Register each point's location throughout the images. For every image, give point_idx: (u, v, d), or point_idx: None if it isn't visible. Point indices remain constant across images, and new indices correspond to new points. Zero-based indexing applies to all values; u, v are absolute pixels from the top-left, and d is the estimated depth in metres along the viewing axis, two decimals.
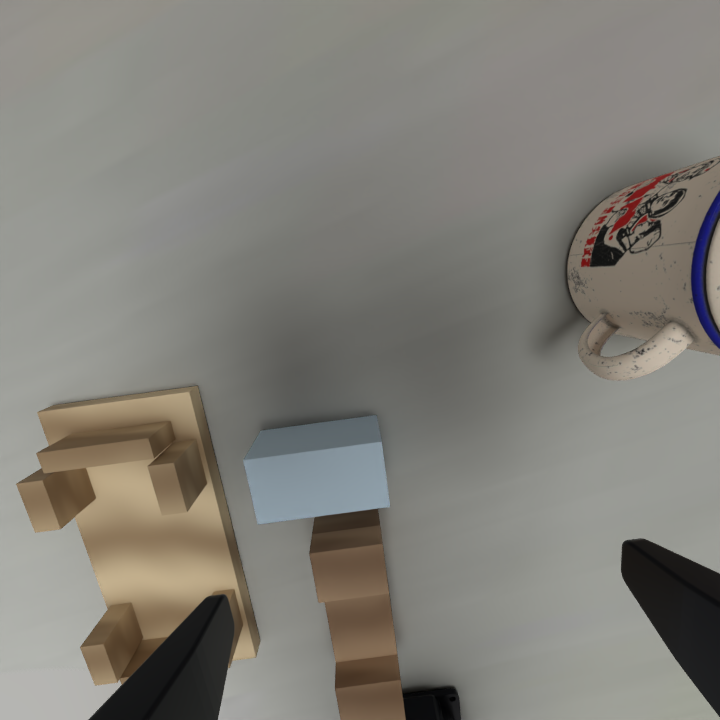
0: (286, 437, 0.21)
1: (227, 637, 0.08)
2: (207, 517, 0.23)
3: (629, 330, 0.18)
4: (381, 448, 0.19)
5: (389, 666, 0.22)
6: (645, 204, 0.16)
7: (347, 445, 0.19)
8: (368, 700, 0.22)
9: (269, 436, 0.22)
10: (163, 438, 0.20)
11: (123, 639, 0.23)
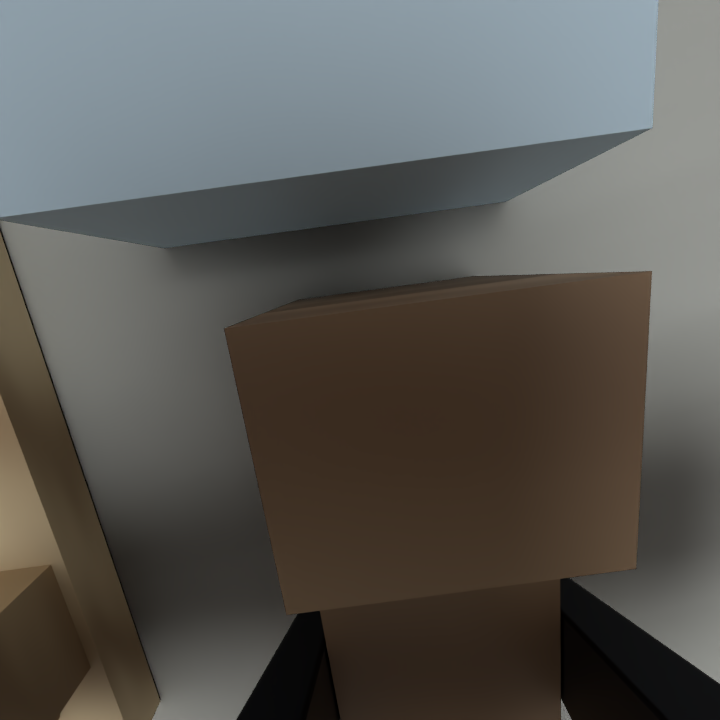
0: None
1: None
2: None
3: None
4: None
5: None
6: None
7: None
8: None
9: None
10: None
11: None
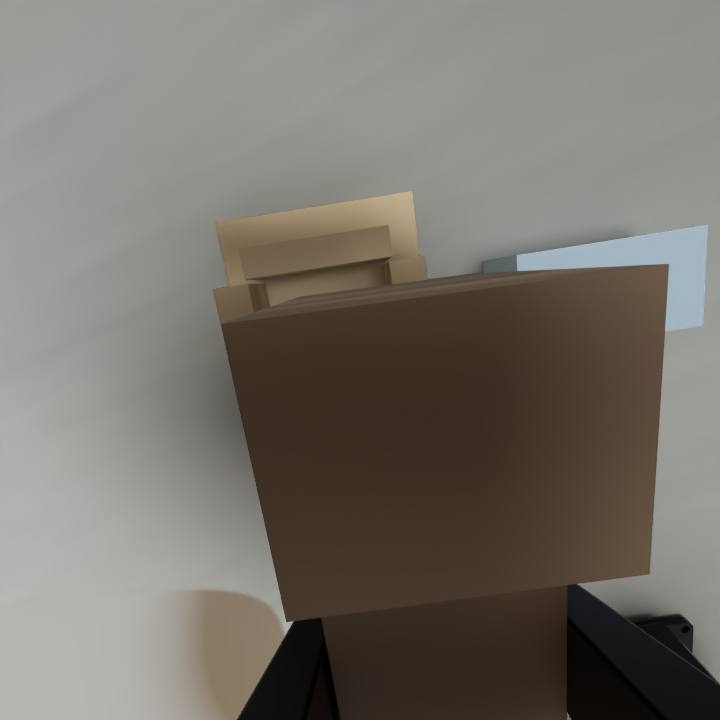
0: None
1: None
2: None
3: None
4: (705, 236, 0.14)
5: None
6: None
7: None
8: None
9: None
10: None
11: None
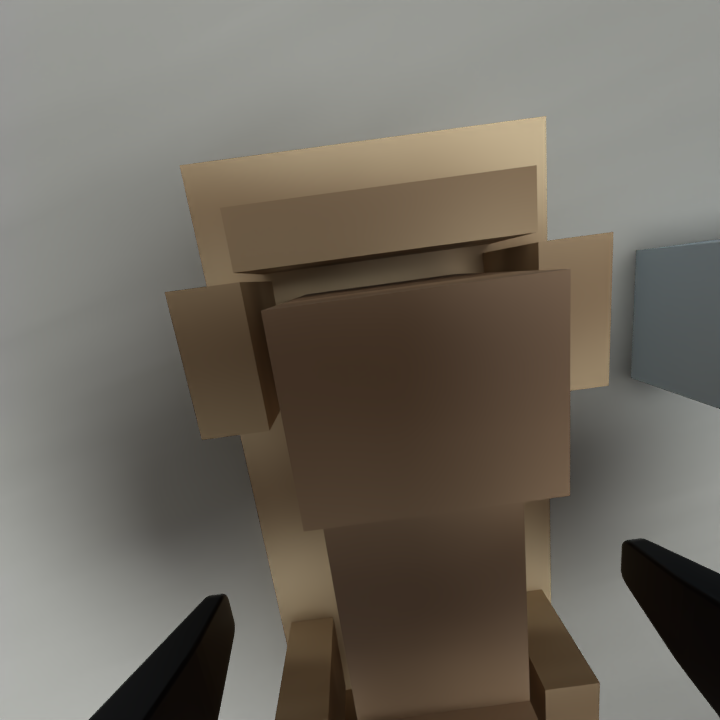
0: None
1: (227, 637, 0.08)
2: None
3: None
4: None
5: None
6: None
7: None
8: None
9: (699, 242, 0.10)
10: None
11: (337, 697, 0.11)
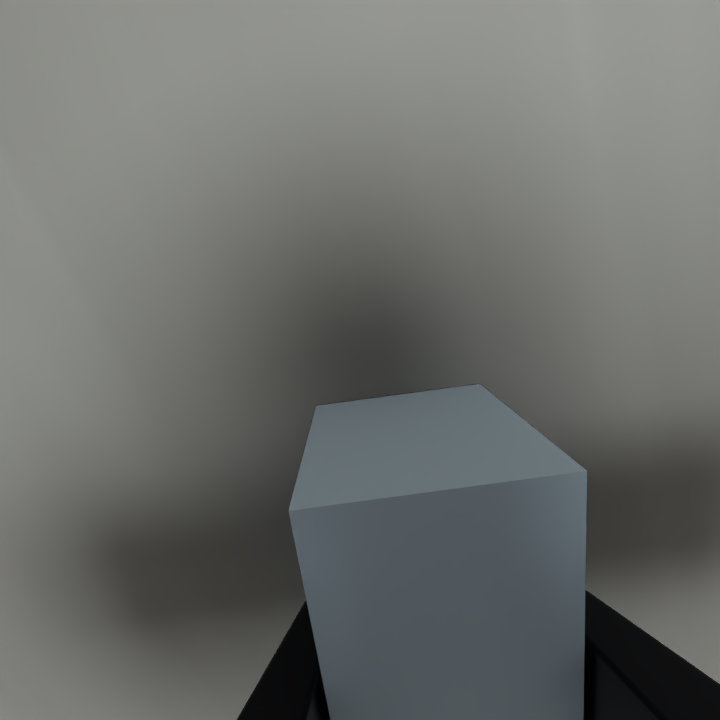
0: None
1: None
2: None
3: None
4: (319, 509, 0.05)
5: None
6: None
7: (311, 613, 0.05)
8: None
9: None
10: None
11: None
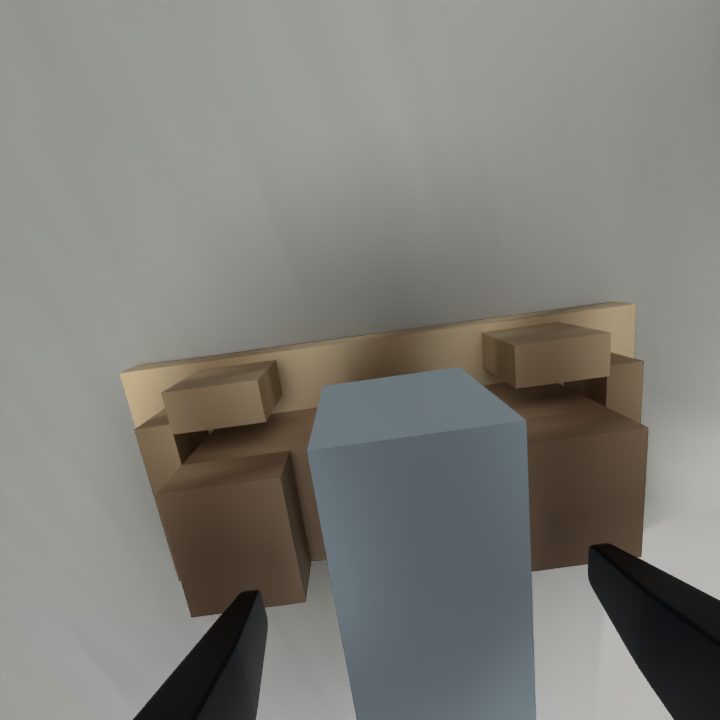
0: None
1: (262, 632, 0.08)
2: (338, 365, 0.14)
3: None
4: (329, 450, 0.06)
5: None
6: None
7: (323, 533, 0.07)
8: (571, 508, 0.10)
9: None
10: None
11: None
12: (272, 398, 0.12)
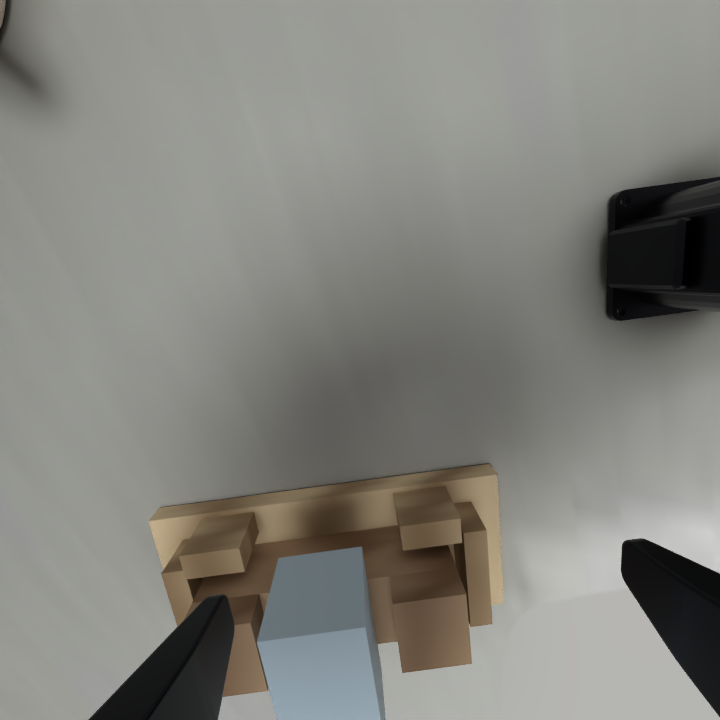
0: None
1: (227, 637, 0.08)
2: (296, 514, 0.20)
3: None
4: (268, 641, 0.13)
5: None
6: None
7: (267, 676, 0.13)
8: (425, 637, 0.16)
9: None
10: None
11: None
12: (250, 547, 0.19)
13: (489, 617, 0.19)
